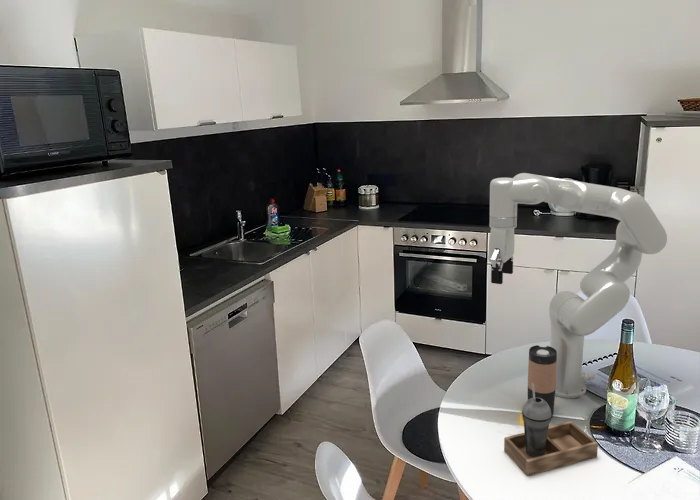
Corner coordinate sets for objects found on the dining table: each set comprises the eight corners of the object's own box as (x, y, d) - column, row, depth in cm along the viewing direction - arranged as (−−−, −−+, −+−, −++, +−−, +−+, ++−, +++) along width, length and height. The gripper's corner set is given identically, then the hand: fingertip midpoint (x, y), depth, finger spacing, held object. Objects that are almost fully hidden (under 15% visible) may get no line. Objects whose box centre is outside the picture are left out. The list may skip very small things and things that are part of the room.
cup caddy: (569, 434, 152) (570, 421, 151) (596, 457, 142) (598, 443, 141) (504, 451, 147) (504, 437, 146) (527, 476, 137) (527, 461, 136)
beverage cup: (551, 462, 141) (555, 392, 135) (522, 460, 142) (524, 390, 136) (547, 444, 147) (550, 377, 142) (519, 442, 149) (521, 375, 143)
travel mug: (540, 423, 158) (543, 359, 152) (521, 410, 164) (522, 349, 159) (560, 415, 161) (563, 352, 156) (540, 403, 168) (542, 342, 162)
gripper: (499, 214, 168) (498, 268, 172) (479, 227, 154) (479, 285, 158) (524, 215, 164) (523, 271, 168) (506, 229, 150) (505, 289, 154)
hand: (502, 278), depth 163 cm, fingers open, 9 cm apart
